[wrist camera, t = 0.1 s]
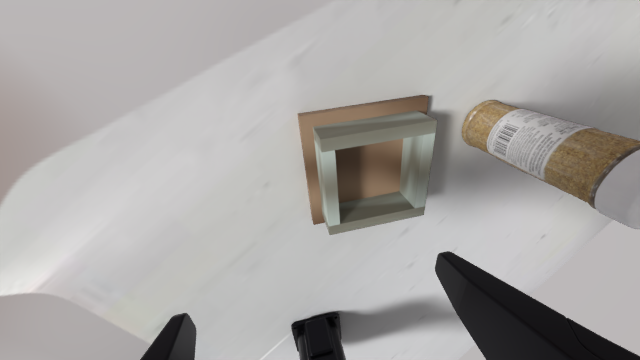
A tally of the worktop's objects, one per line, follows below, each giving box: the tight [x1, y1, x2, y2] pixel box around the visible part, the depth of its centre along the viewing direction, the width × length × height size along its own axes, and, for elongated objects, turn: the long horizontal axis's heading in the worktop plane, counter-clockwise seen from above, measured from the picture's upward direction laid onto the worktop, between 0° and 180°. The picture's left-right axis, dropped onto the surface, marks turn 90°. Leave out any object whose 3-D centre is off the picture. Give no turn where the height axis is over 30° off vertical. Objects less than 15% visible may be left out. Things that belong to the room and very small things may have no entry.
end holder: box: [298, 95, 437, 235], centre depth 22 cm, size 11×11×4 cm
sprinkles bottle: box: [462, 100, 640, 229], centre depth 19 cm, size 5×5×13 cm
